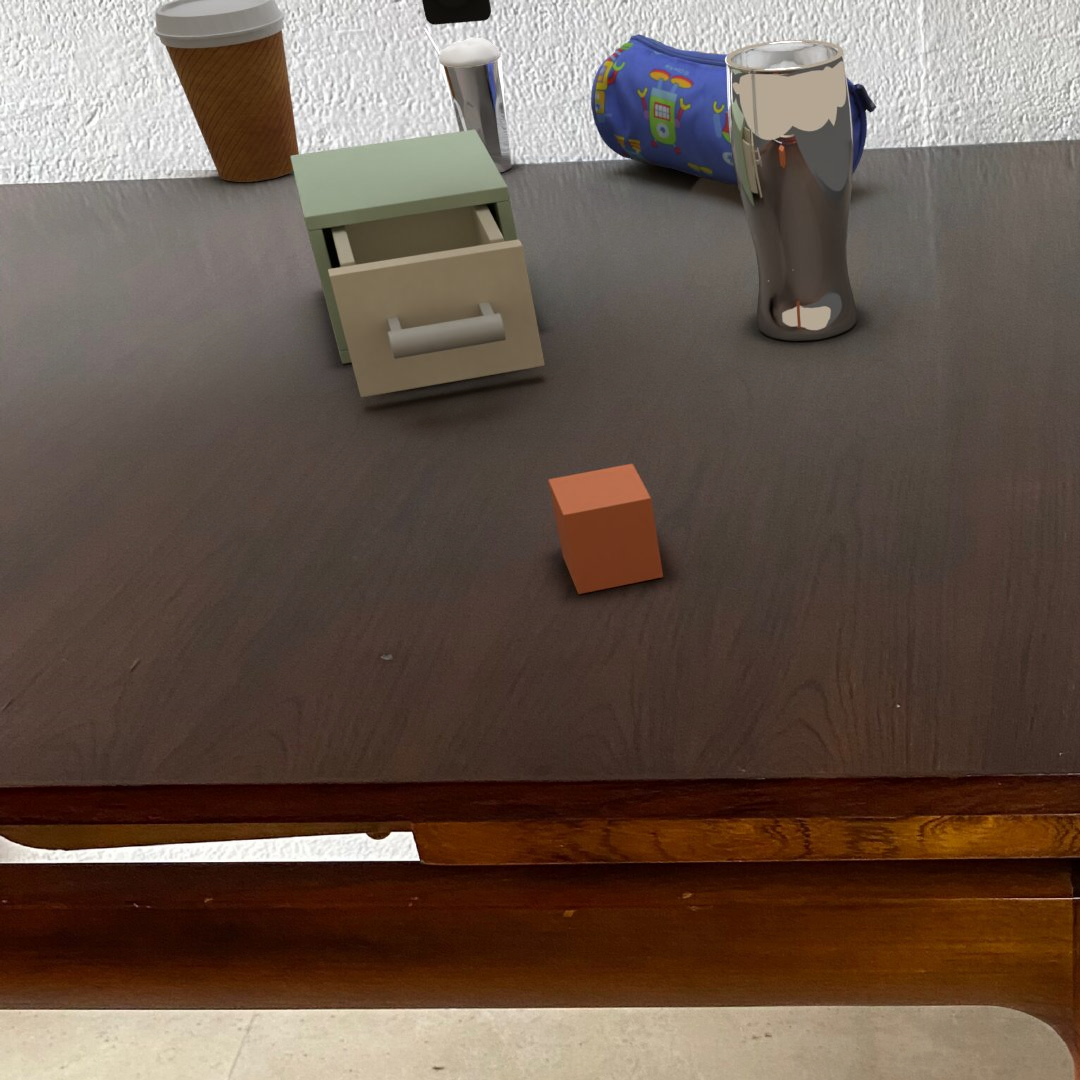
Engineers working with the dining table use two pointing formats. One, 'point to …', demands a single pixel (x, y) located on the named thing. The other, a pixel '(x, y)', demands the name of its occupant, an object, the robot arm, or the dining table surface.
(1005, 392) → the dining table surface
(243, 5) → the disposable coffee cup
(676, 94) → the pencil case
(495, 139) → the milkshake
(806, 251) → the beer glass
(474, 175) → the cabinet
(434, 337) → the drawer
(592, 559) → the block
